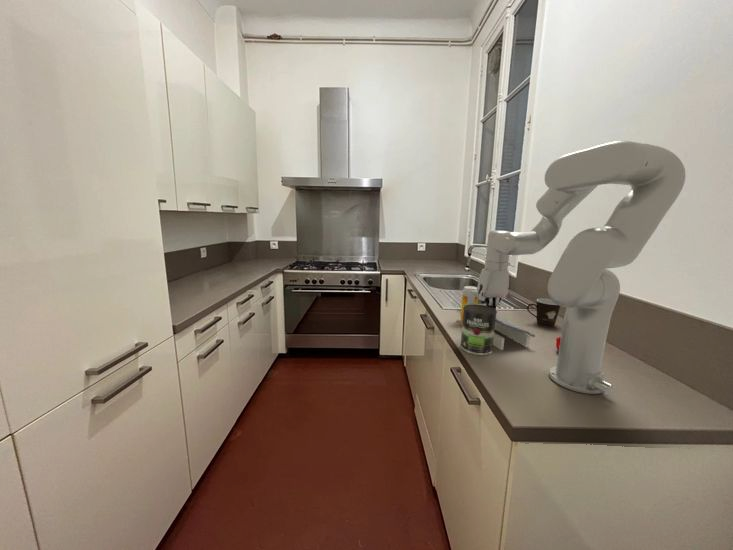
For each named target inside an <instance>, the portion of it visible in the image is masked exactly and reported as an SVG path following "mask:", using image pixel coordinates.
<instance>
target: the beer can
mask: <svg viewBox="0 0 733 550" xmlns="http://www.w3.org/2000/svg"><path fill="white" fill-rule="evenodd" d="M477 287H478V286H473V285H465V286H464V287H463V289H462V299H461V311H460V312H461V313H460V319H461V321H462V322H463V313H464V310H463V308H464V306H466V305H472V304H473V305H477V304H478V294H477Z"/></svg>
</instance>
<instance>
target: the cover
mask: <svg viewBox="0 0 733 550" xmlns="http://www.w3.org/2000/svg"><path fill="white" fill-rule="evenodd" d="M495 322H497V323H498V324H500V325H502V326H505V327H507V328H510V329H513V330H516V331H519V332H522V333H525V334H527V335H529V334H530V333H531V332H530V331H528V330H526V329H524V328H522V327H520V326H518V325H516V324H514V323H513V322H510V321H508V320H506V319H504V318H502V317H501V316H499V315H496V320H495ZM529 336H530V335H529Z"/></svg>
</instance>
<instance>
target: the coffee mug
mask: <svg viewBox="0 0 733 550" xmlns="http://www.w3.org/2000/svg"><path fill="white" fill-rule="evenodd" d="M531 306H534V307H535V309H536V315H535V314H534V313H533V312H532V311H530V309H529V308H530V307H531ZM526 309H527V311H528V313H529V314H530V315H532V316H533V317H535V318H536V324H537V325H538V326H539V327H544V328H554V327H555V325H556V322H557V319H558V315H559V312H560V309H561V306H559V305H557V304H556V303H554V302H553V301H552V300H551V298H550V299H549V298H537V299H536V304H535V303H529V304H527V307H526Z"/></svg>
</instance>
